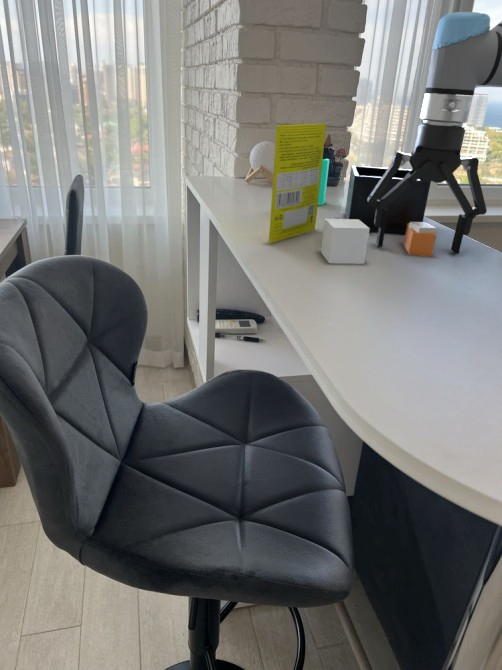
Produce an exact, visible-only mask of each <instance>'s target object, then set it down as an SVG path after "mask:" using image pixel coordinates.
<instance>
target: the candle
mask: <svg viewBox="0 0 502 670" xmlns="http://www.w3.org/2000/svg"><path fill="white" fill-rule="evenodd" d="M329 167H330V159H329V158H323V159H322V168H321V177H320V187H319V196H318V205H317V206H323V205H325V203H326V194H327V185H328V177H329Z"/></svg>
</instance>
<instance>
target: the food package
mask: <svg viewBox="0 0 502 670" xmlns="http://www.w3.org/2000/svg"><path fill="white" fill-rule="evenodd" d="M275 128H276V129H275V143H274V144H275V145H274V159H273V160H274V161H273V174H272V175H273V176H272V190H271V202H270V203H271V206H270V218H269V234H268V245H271V244H274V243H277V242H281V241H284V240H286V239H291V238H292V237H296V236H300V235H303V234H306V233H310V232H313V231H315V230H316V224H317V223H316V222H317V215H318V206H319V205H318V196H319V187H320V177H321V168H322V159H323V160H324V148H325V140H326V129H327V123H302V124H277V125H276V127H275Z"/></svg>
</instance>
